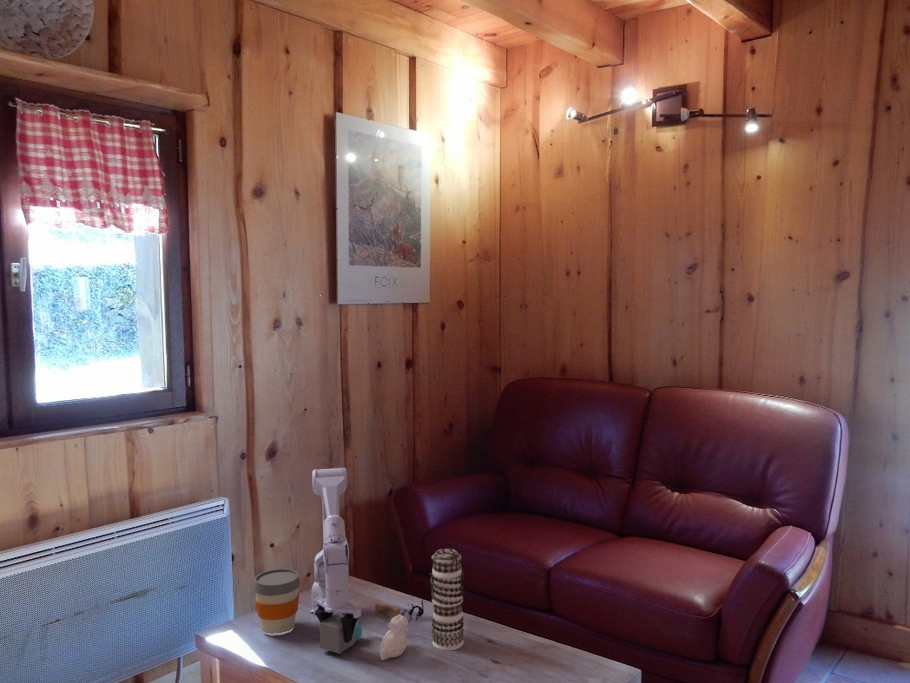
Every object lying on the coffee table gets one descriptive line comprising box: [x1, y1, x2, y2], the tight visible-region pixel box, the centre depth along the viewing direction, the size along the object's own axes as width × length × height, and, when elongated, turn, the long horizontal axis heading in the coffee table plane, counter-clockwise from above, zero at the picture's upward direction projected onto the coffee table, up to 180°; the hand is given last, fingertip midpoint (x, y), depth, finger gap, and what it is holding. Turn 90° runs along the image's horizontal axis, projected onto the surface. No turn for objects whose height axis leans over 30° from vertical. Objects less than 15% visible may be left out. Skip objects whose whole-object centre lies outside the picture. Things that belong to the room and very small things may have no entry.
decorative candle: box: [429, 547, 465, 651], centre depth 188 cm, size 9×9×25 cm
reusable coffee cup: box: [253, 568, 301, 634], centre depth 198 cm, size 13×13×15 cm
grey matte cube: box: [319, 614, 356, 654], centre depth 185 cm, size 6×6×7 cm
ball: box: [355, 622, 363, 642], centre depth 191 cm, size 5×5×5 cm
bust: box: [379, 613, 409, 661], centre depth 183 cm, size 12×8×11 cm
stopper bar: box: [374, 602, 401, 618], centre depth 206 cm, size 8×1×2 cm, turn 59°
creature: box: [400, 598, 424, 622], centre depth 204 cm, size 8×5×8 cm
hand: (337, 637), depth 186 cm, fingers closed on grey matte cube, 6 cm apart
